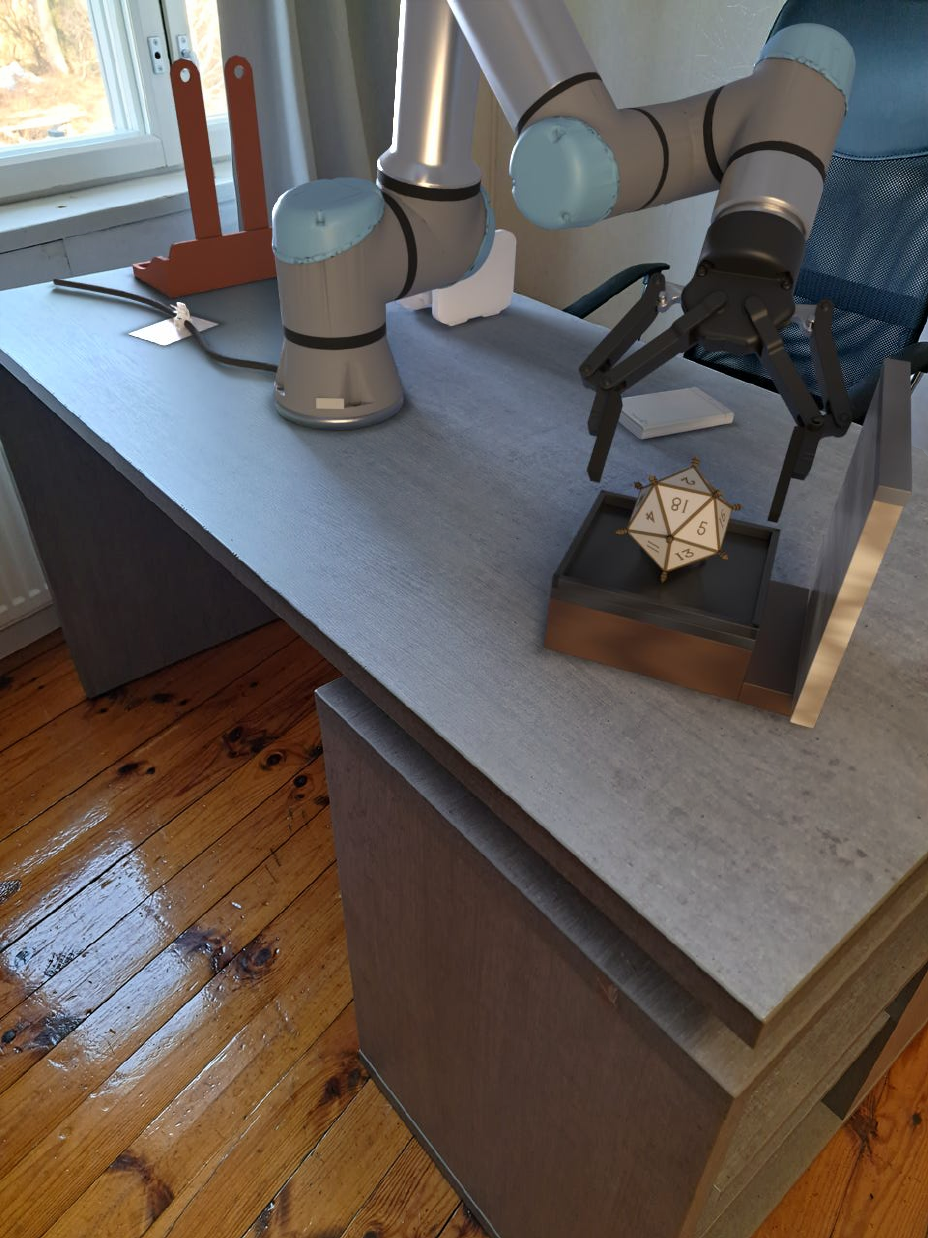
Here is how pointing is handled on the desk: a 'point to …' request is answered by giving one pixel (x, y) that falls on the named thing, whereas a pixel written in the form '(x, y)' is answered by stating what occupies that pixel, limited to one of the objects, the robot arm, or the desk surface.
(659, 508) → the game die
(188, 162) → the hanging shelf
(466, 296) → the cable organizer
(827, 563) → the holder
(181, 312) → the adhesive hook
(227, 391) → the desk surface
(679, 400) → the hard drive
